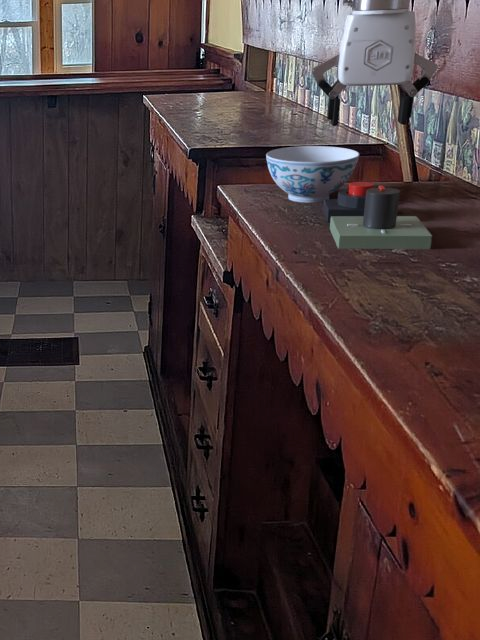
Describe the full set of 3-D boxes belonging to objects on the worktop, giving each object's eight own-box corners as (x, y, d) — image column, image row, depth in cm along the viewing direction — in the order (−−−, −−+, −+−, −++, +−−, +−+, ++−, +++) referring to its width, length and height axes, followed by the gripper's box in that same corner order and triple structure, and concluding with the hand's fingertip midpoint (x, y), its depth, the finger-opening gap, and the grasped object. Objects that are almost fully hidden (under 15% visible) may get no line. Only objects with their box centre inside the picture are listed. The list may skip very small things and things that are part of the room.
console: (414, 229, 129) (416, 215, 128) (430, 249, 119) (432, 234, 118) (329, 229, 132) (330, 215, 131) (338, 249, 122) (339, 234, 121)
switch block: (388, 212, 139) (391, 187, 137) (396, 223, 133) (399, 197, 131) (322, 212, 141) (324, 188, 140) (327, 223, 135) (329, 197, 133)
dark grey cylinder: (398, 229, 122) (402, 191, 120) (365, 229, 123) (369, 192, 121) (392, 221, 126) (397, 185, 124) (360, 221, 127) (364, 185, 125)
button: (371, 192, 137) (372, 181, 136) (374, 197, 133) (375, 186, 133) (346, 192, 137) (347, 181, 137) (349, 197, 134) (350, 186, 134)
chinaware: (312, 213, 141) (316, 165, 138) (245, 198, 153) (247, 154, 150) (373, 198, 148) (379, 152, 145) (304, 185, 160) (308, 143, 157)
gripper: (320, 6, 123) (309, 129, 130) (453, -1, 119) (435, 126, 126) (315, 4, 129) (305, 121, 136) (440, -2, 126) (424, 119, 132)
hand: (367, 124), depth 131 cm, fingers open, 9 cm apart
